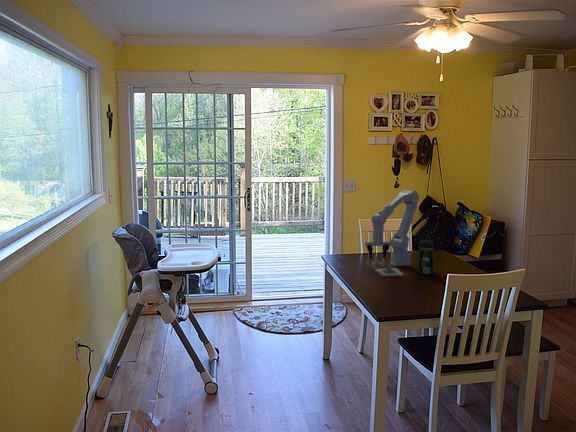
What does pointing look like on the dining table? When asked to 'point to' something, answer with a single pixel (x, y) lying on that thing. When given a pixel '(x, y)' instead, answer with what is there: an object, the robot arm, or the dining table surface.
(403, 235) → the robot arm
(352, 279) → the dining table surface
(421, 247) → the coffee jar
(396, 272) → the pin board
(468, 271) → the dining table surface
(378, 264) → the collar
